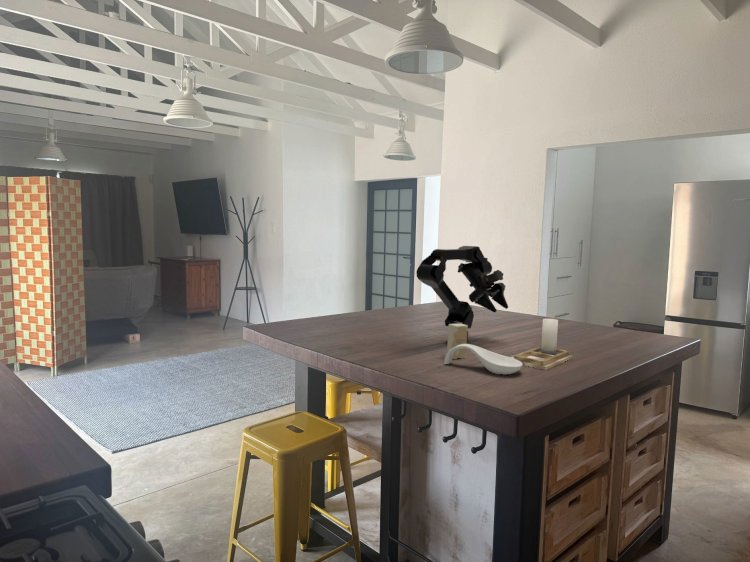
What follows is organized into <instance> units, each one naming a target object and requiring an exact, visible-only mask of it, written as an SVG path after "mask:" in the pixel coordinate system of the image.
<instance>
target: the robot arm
mask: <svg viewBox="0 0 750 562" xmlns="http://www.w3.org/2000/svg"><path fill="white" fill-rule="evenodd" d="M480 248H481V247H479V246H478V245H477V246H475V245H462V246H459V247H458V248H455V249H453V248H449V249H442V248H435V249H433V250H432V252H431V253H430V255H428V256H427V257H425V258H424V259H423V260H422V261H421V262H420V264H419V265H418V268H417V269H416V272H415V273H416V278H417V280H419V281H420V282H421V283H422V284H424V285H426V286H428V287H430V288H431V289H432V290H433V291H434V293H435V294H436V295H437V296H438V297H439V299H440V300H441V302H442V303H443V304H444V305H445V306H446V308H447V309H448V312H447V313H448V315H447V317H446V318H445V320H444V326H445V327H448V326H449V324H459V323H461V324H464V325H467V326H468V330H469V329H472V326H473V321H474V317H475V315H474V311H473V307H472V306H471V305H470V303H469V302H468V301H464V300H463V301H462V300H459V298H458V297H457V296H456V294H454V292H453V291H452V290H451V288H450V286H449V285H448V284H447V283H446V282H445V280H444V276H445V274H444V273H445V271H446V270H447V261H455V260H457V261H464V262H466V263H463V262H461V263H460V264H458V266H457V268H458V269H457V273H458V274H459V273H462V274H463V276H464V277H465V278H466V279H467V280H468V282H469V286H470V287H471V288H474V290H473V291H471V292H470V294H469V295H468V299H469V301H470V302H471V303H474V304H476V305H479V306H481V307H483V308H485V309H487V310H489V311H491V312H493V313H496V312H497V307H496V306H495V304H494V303H493V302H492V301H494V302H495V303H496V304H498V305H499V306H501V307H502V308H504V309H505V310H508V308H509V305H508V303H507V300H506V298H505V294H504V292H505V291H506V285H505V284H504V282H498V281H503V280H504V273H503V272H502V271H501V270H499V269H497V270H495V271H493V272H492V270H493V266H492V264H491V262H490V261H489V260H488V257H485V256H484V253H483V252H482V250H481V249H480ZM437 261H439V264H438V265H437V264H436V265H435V263H436V262H437ZM490 298H491V299H490ZM491 300H492V301H491ZM468 330H467V344H470V343H469V331H468ZM445 341H446V343H448V339H446V340H445Z"/></svg>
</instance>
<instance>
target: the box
mask: <svg viewBox="0 0 750 562" xmlns="http://www.w3.org/2000/svg"><path fill="white" fill-rule="evenodd" d="M447 327H448V328H447V340H448V342H446V343H447V344H446V345H447V347H446V354H447V353H448V352H449V350H451V349H452V348H454V347H456V346H458V345H461V344H467V343H468V342H467V331H468V330H469V329H468V326H467V325H464V324H461V323H460V322H459V324H449V326H447ZM465 357H466V358H467V349H459V350H457V351H455V352H454V354H453V357H452V360H457V358H461V359H466V358H465Z"/></svg>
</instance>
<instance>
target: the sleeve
mask: <svg viewBox="0 0 750 562" xmlns="http://www.w3.org/2000/svg"><path fill="white" fill-rule="evenodd" d="M558 325H559V319H556V318H543V319H542V329H541V345H540V347H541V353H544V354H550V355H556V349H557V341H558V327H559V326H558Z"/></svg>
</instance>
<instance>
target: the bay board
mask: <svg viewBox="0 0 750 562" xmlns="http://www.w3.org/2000/svg"><path fill="white" fill-rule="evenodd" d="M509 357H510V358H513V359H516V360H518V361H520V362H521V363H522V364H523V365H524V366H525V367H528V366H529V368H533V367H534V369H539V370H544V371H547V370H549V368H550V369H552V368H554V367H556V365H557V366H558V364H559V365H562V364H563V363H565V361H566V362H568V361H570V360H572V359H573V355H572V354H570V351H569V350H564V349H558V348H556V355H550V354H544V353H541V346H538V347H536V348H531V349H529V350H525V351H523V352H520V353H517V354H513V355H511V356H509ZM569 359H570V360H569ZM567 360H568V361H567ZM523 365H522V366H523Z"/></svg>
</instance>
